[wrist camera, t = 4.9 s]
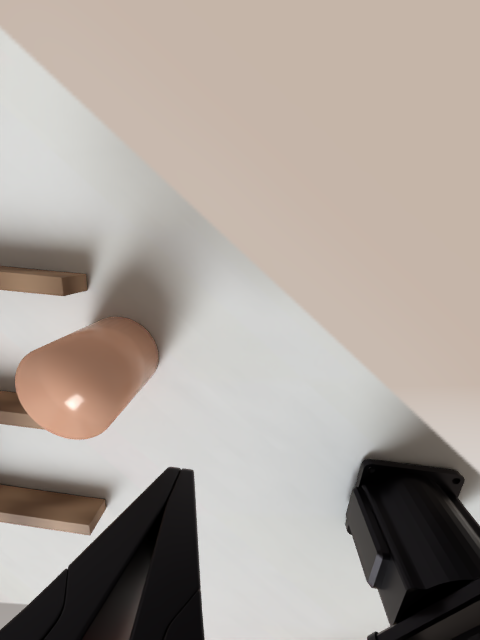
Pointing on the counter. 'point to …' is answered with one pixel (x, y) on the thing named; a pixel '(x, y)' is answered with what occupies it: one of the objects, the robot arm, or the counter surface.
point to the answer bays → (8, 410)
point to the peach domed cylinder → (86, 377)
